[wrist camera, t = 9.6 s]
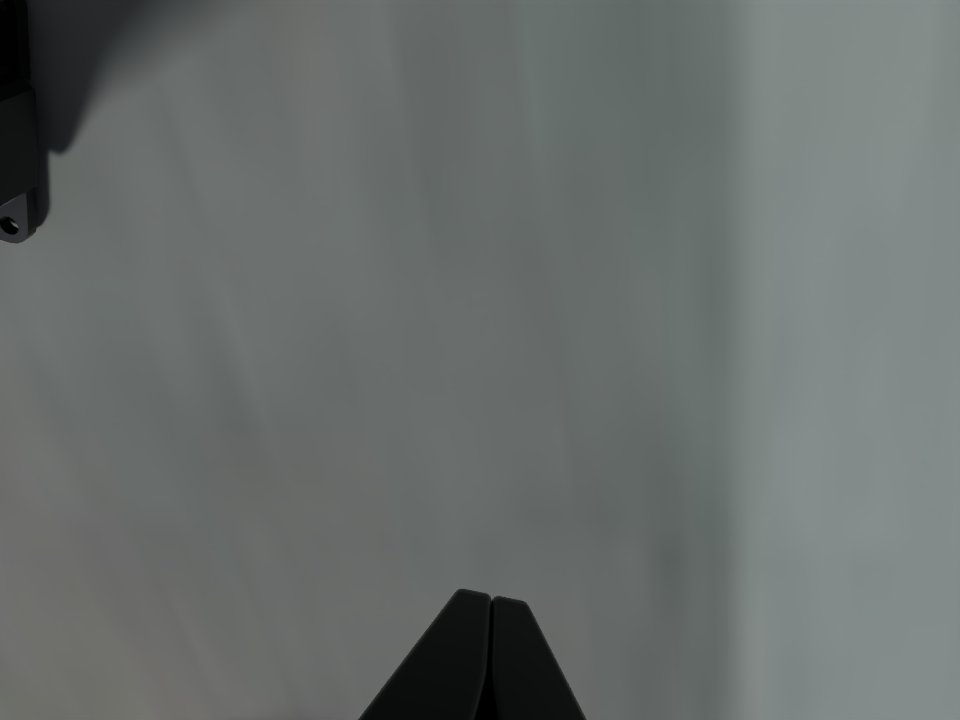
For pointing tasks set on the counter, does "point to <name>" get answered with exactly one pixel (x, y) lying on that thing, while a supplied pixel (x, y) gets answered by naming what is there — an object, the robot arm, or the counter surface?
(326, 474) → the counter surface
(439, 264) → the counter surface
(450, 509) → the counter surface
